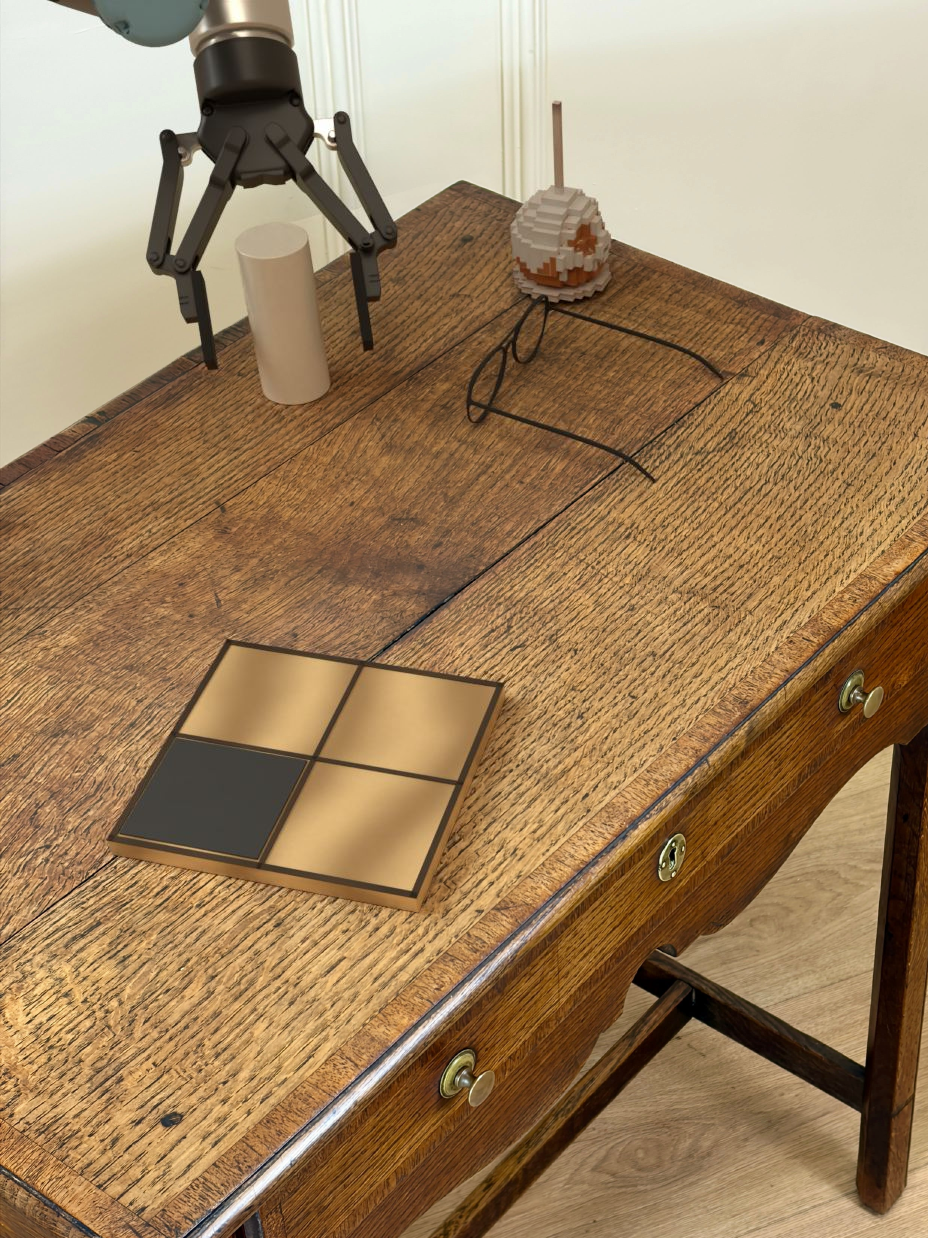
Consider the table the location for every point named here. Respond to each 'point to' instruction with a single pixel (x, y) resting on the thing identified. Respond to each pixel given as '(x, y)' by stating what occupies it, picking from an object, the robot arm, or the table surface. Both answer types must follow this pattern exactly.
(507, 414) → the glasses
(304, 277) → the cream cylinder
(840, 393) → the table surface
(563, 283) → the caramel apple
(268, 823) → the board
